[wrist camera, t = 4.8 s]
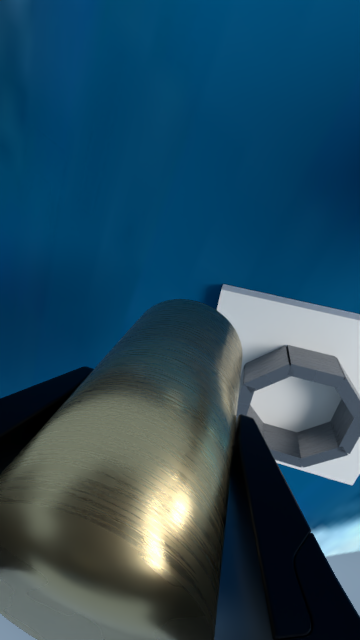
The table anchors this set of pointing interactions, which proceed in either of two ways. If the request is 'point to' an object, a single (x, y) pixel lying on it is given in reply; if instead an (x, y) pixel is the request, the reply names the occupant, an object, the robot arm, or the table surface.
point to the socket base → (292, 393)
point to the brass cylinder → (128, 489)
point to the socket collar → (317, 442)
